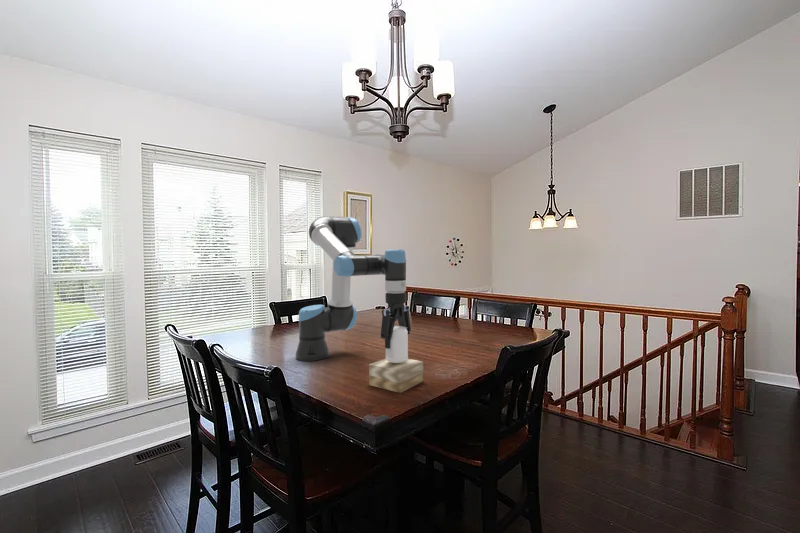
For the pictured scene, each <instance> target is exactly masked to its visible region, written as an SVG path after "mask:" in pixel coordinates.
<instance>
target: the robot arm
mask: <svg viewBox="0 0 800 533" xmlns="http://www.w3.org/2000/svg"><path fill="white" fill-rule="evenodd" d="M308 235H309V239H310V240H311V242H312V243H313V244H315V245H316V246H318V247H320V248H321V249H322V250H323V251H324V252H325V254H326V255H328V257H329V258H331V260H332V275H331V276H332V277H331V278H332V279H331V297H330V298H331V299H330V300H328V302H327V307H326V306H325V305H324V304H313V305H309V306H308V305H307V306H304V307H302V308H300V310H299V311H298V320H297V321H298V338H299V339H298V344H297V350H296V351H295V359H296V360H298V361H303V362H304V361H305V362H306V361H307V362H309V361H310V362H314V361H319V360H325V359H327V358H329V357H330V350H329V346H328V344H327V340H326V333H331V332H340V331H342V332H344V331H347V330H350V329H353V327H355V325H356V322H357V316H358V312H357V308H356V307H355V305H353V304H354V303H353V301H351V299H350V297H351V279H352V278H351V277H356V276H357V277H358V276H378V275H380V276H381V275H384V278H385V280H384V288H385V289H384V290H385V292H386V293H385V294H384V295H385V303H386V304H387V307H386V309H381V316H382V318H381V327H380V328H381V329H380V338H381V339H383V340H384V348H385V358H386V357H389V358H393V339H391V337H392V333H393V328H394V326H395V322H396V321H397V323H398V326H404V327H406V329H407V331H408V335H410V334H411V330H412V328H411V320H410V319H411V318H410V305H405V303H407V293H406V291H407V275H406V274H407V258H406V251H405V250H404V249H396V248H395V249H386V250H385V251H384V254H365V255H364V254H362V255H361V254H358V255H357V254H355V253H354V252H353V250H354V249H356V244H358V243H359V242H361V238H362V228H361V226H360V223H359V221H358V220H357V219H356V218H355V217H350V216H349V217H348V216H321V217H320V216H319V217H317V218H316V219H314V220H313V221H312V223H310V226H309V228H308ZM388 335H389V336H388Z"/></svg>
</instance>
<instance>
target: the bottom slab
mask: <svg viewBox="0 0 800 533" xmlns="http://www.w3.org/2000/svg"><path fill="white" fill-rule="evenodd" d="M368 381H369V383H368V385H369V386H372V387H376V388H379V389H383V390H387V391H392V392H395V393H399V394H402V393H403V392H405V391H407V390H409V389H412V388H413V387H415V386H417V385H420V384H421V383H423V382H424V372H423V373H421V374H418V375H416V376H414V377H412V378H410V379H407V380H405V381H403V382H401V383H398V382H394V381H390V380H386V379H382V378H378V377H374V376H370V375H368Z"/></svg>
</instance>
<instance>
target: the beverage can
mask: <svg viewBox="0 0 800 533" xmlns="http://www.w3.org/2000/svg"><path fill="white" fill-rule="evenodd" d="M388 336H389V335H388ZM408 336H409V334H408V331H407V329H406V327H404V326H399V325H394V328H393V333H392V337H391V339H393V358H389V357H386V356H385V359H386V360H387V361H389V362H391V363H402V362H405V361H406V360H408V359H409V342H408V341H409V340H408V339H409V338H408Z"/></svg>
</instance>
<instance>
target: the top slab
mask: <svg viewBox="0 0 800 533" xmlns="http://www.w3.org/2000/svg"><path fill="white" fill-rule="evenodd" d="M421 373H423V374H424V361H423V360H422V361H421V360H417V359H412V358H408V360H406V361H405V362H402V363H391V362H389V361H387V360H386V358H384V359H380V360H378V361H377V360H376V361H374V362H372V363H369V364H368V374H369V375H368V376H374V377H378V378H382V379H386V380H390V381H394V382H398V383H401V382H403V381H405V380H407V379H410V378H412V377H414V376H416V375H418V374H421Z"/></svg>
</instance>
